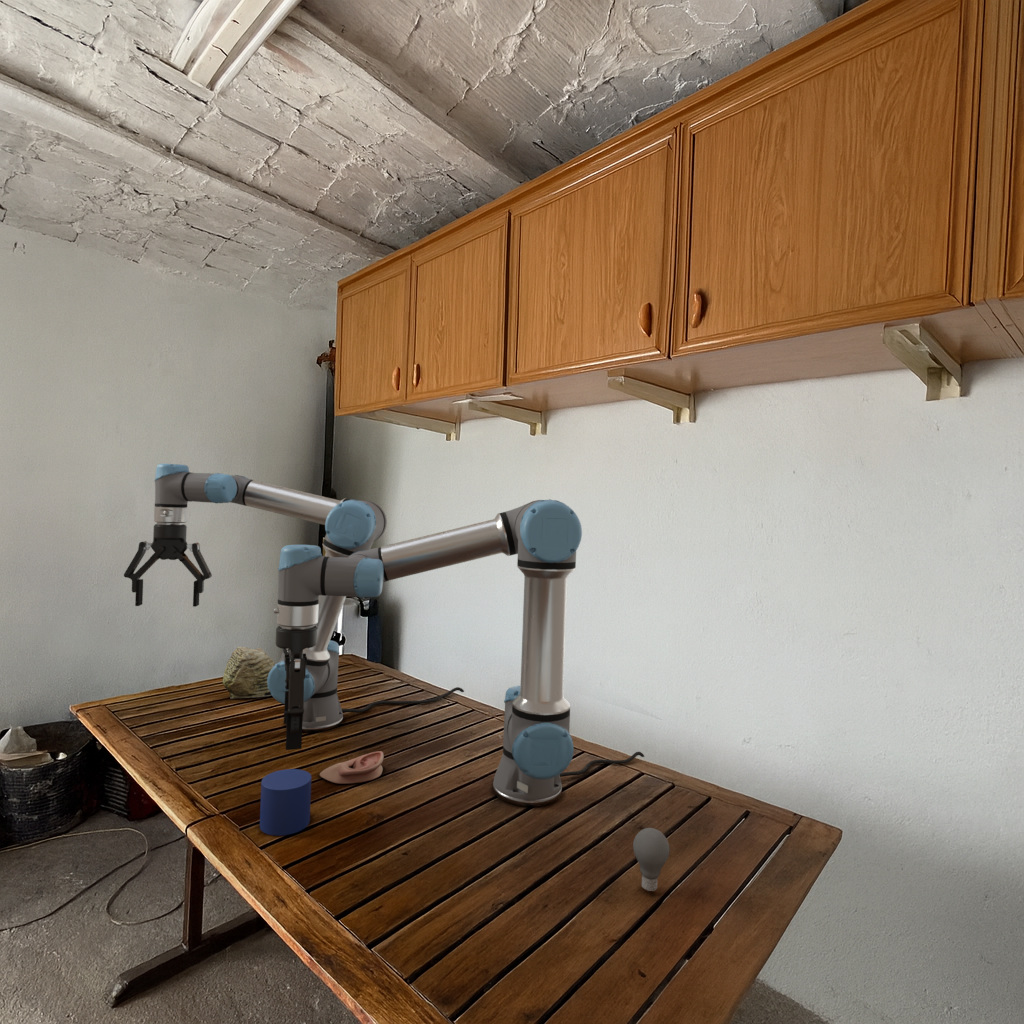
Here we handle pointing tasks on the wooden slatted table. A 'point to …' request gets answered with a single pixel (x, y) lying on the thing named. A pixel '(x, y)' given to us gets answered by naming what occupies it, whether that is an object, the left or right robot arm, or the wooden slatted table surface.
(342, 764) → the anatomical model
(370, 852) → the wooden slatted table surface
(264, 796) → the cylinder
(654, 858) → the light bulb
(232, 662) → the fossil
